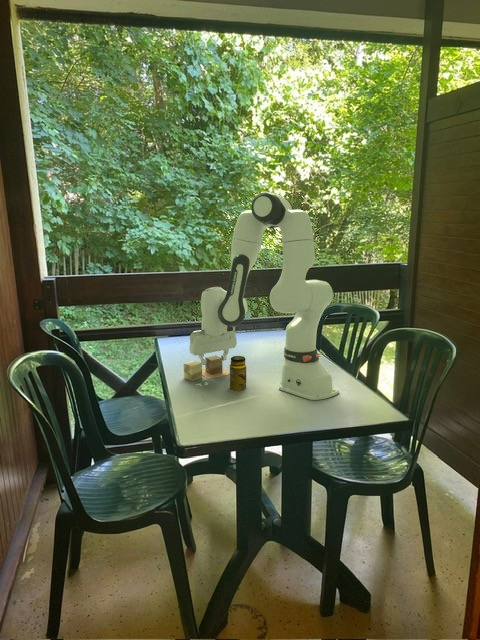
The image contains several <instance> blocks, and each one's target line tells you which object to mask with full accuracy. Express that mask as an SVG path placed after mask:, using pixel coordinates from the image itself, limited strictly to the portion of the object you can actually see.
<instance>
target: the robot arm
mask: <svg viewBox="0 0 480 640" xmlns="http://www.w3.org/2000/svg"><path fill="white" fill-rule="evenodd" d="M250 209H251V210H248V209H247V210H244V211H241V213H240V214H239V215H238V218H237V220H236V223H235V226H234V228H233V229H234V230H233V234H232V238H231V247H230V249H231V250H230V274H229V279H228V283H227V288H226V290H225V289H224V288H222V287H221V286H214V287H212V286H211V287H208V288H206V289H204V290H203V291H202V292H201V297H200V298H201V299H200V311H201V315H202V317H201V330H194V331H193V332H191V333H190V335H189V353H190V355H192V356H195V357H196V356H198V359H199V360H200V363H202V366H205V364H207V363H206V360H205V355H206V354H211V353H215V352H222V351H223V353H222V355H220V357H221V358H222V362H224V361H227V355H228V354H229V353H230V352H229V351H230V350H231V349H235V348H236V347H237V344H238V342H237V333H236V332H235V330H236V327H238V326H240V324H242V323H243V322H244V320H245V318H246V315H247V312H248V309H249V305H248V302H247V300H246V298H244V295H245V291H246V290H245V289H246V286H247V280H248V277H249V274H250V272H251V270H252V268H253V266H254V265H255V263H256V261H257V260H258V257H259V255H260V251H261V247H262V241H263V236H264V233H265V231H266V230H267V229H275V228H279V231H280V232H281V243H282V244H281V245H282V258H283V259H282V262H283V263H282V269H281V273H280V277H279V279H278V281H277V283H276V284H275V285H274V286H273V287H272V288H271V290H270V293H269V303H270V306H271V307H272V309H273V310H274V311H275V312H277V313H283V314H294V313H295V315H294V317H293V319H292V320H291V321H290V322H289V323H288V324H287V325H286V328H285V346H284V349H283V357H284V361H283V365H282V370H281V371H282V372H281V380H280V385H279V386H278V389H279V390H280V391H283V392H285V393H289V394H293V395H294V396H298V397H301V398H303V399H306V400H310V401H318V400H319V401H320V400H324V399H328V398H329V399H330V398H332V397H334V396H336V395H338V394H339V393H340V389H339V388H337V387H336V386H334V385H333V378H332V375H331V373H330V372H329V370H328V369H326V367H325V366H324V365H323V364H322V362H321V361H320V357H321V355H322V353H318V350H317V347H316V345H317V332H318V326H319V322H320V321H321V320H320V319H321V317H322V316H323V313H324V311H325V310H326V308H327V307H328V306H329V305H330V304H331V303H332V301H333V298H334V290H333V288H332V286H331V285H330V284H329V282H327V281H324V280H319V279H309V280H308V279H307V280H306V276H307V273H308V271H309V269H311V267H313V266H314V264H315V263H316V262H315V261H316V255H315V242H314V231H313V226H312V221H311V218H310V215H309V213H308V212H306V211H305V210H302V209H294V206H293V204H292V203H291V202H290V201H289V200H288V199H287V198H285V197H283V196H282V195H280V194H279V193H275V192H270V191H263V192H260V193H258V194H257V195H255V197H254V198H253V199H252V201H251V204H250Z"/></svg>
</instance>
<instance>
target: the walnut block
mask: <svg viewBox="0 0 480 640" xmlns="http://www.w3.org/2000/svg"><path fill="white" fill-rule="evenodd" d="M204 359H205V360H206V363H207V364H205V365H204V366H205V369H206V372H207V373H209V374H211V375H214V374H218V373H223V369H224V368H223V360H222V358H221V356H219V355H210V356H204ZM222 368H223V369H222Z"/></svg>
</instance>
